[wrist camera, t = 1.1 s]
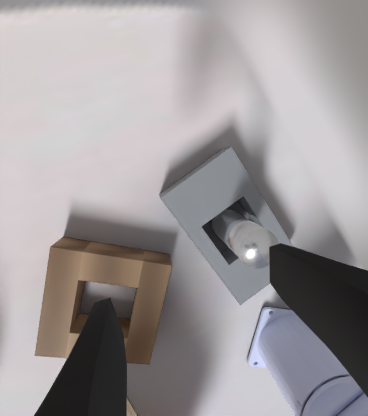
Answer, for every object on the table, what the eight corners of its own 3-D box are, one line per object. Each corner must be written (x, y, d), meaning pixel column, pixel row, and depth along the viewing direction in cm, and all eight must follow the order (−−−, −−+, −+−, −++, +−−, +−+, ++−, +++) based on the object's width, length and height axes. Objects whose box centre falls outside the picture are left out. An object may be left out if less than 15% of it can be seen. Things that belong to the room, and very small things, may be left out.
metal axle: (243, 212, 25) (283, 233, 18) (236, 239, 26) (272, 271, 18) (216, 207, 25) (245, 225, 17) (209, 235, 25) (234, 265, 18)
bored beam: (285, 249, 27) (301, 260, 24) (230, 290, 27) (240, 305, 24) (221, 149, 24) (231, 146, 21) (159, 194, 24) (160, 198, 21)
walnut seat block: (169, 254, 25) (171, 265, 22) (149, 342, 27) (149, 364, 24) (63, 236, 23) (50, 247, 20) (48, 333, 25) (34, 355, 22)
